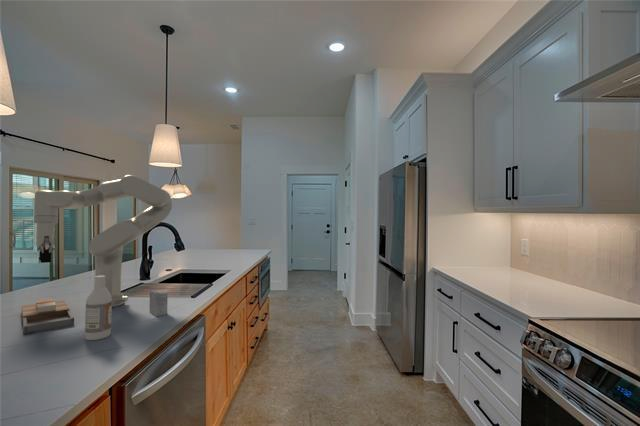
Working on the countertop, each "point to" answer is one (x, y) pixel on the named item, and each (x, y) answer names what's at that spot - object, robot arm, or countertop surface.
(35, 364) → the countertop surface
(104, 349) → the countertop surface
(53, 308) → the cream tile
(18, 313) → the countertop surface
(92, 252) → the robot arm
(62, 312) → the walnut board
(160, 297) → the medicine box
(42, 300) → the terracotta tile
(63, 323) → the tray
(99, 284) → the bath foam
